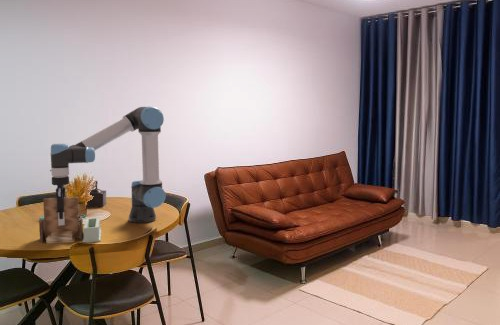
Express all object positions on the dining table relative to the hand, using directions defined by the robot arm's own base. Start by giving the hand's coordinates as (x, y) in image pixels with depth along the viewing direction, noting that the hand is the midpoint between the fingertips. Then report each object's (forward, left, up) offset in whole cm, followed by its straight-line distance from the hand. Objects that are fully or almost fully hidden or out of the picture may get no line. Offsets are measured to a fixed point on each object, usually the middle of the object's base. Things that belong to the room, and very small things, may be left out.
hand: (61, 224), depth 193 cm
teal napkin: (+6, -41, -8) cm, 42 cm away
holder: (-13, 0, -7) cm, 15 cm away
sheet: (0, 0, -7) cm, 7 cm away
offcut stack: (0, +4, -7) cm, 8 cm away
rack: (0, 0, -7) cm, 7 cm away
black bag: (-12, -68, -7) cm, 70 cm away
